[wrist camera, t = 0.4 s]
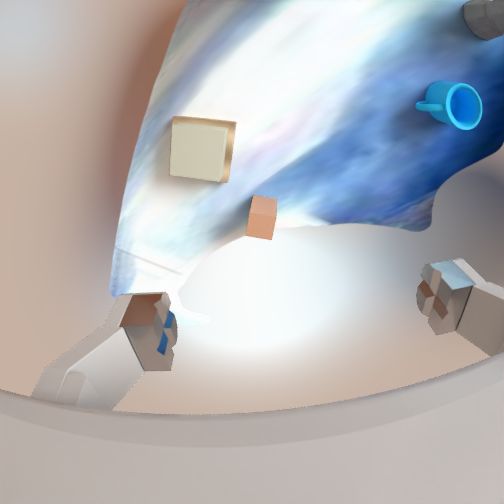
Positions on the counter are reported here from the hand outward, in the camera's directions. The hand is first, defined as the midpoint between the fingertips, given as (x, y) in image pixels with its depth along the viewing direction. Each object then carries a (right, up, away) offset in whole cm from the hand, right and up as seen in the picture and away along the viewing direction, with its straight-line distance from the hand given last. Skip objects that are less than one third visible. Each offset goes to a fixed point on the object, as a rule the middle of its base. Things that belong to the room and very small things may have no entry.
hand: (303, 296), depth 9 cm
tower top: (-11, +19, +42) cm, 47 cm away
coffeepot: (+44, +47, +22) cm, 68 cm away
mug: (+32, +29, +34) cm, 55 cm away
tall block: (+1, +10, +49) cm, 50 cm away
